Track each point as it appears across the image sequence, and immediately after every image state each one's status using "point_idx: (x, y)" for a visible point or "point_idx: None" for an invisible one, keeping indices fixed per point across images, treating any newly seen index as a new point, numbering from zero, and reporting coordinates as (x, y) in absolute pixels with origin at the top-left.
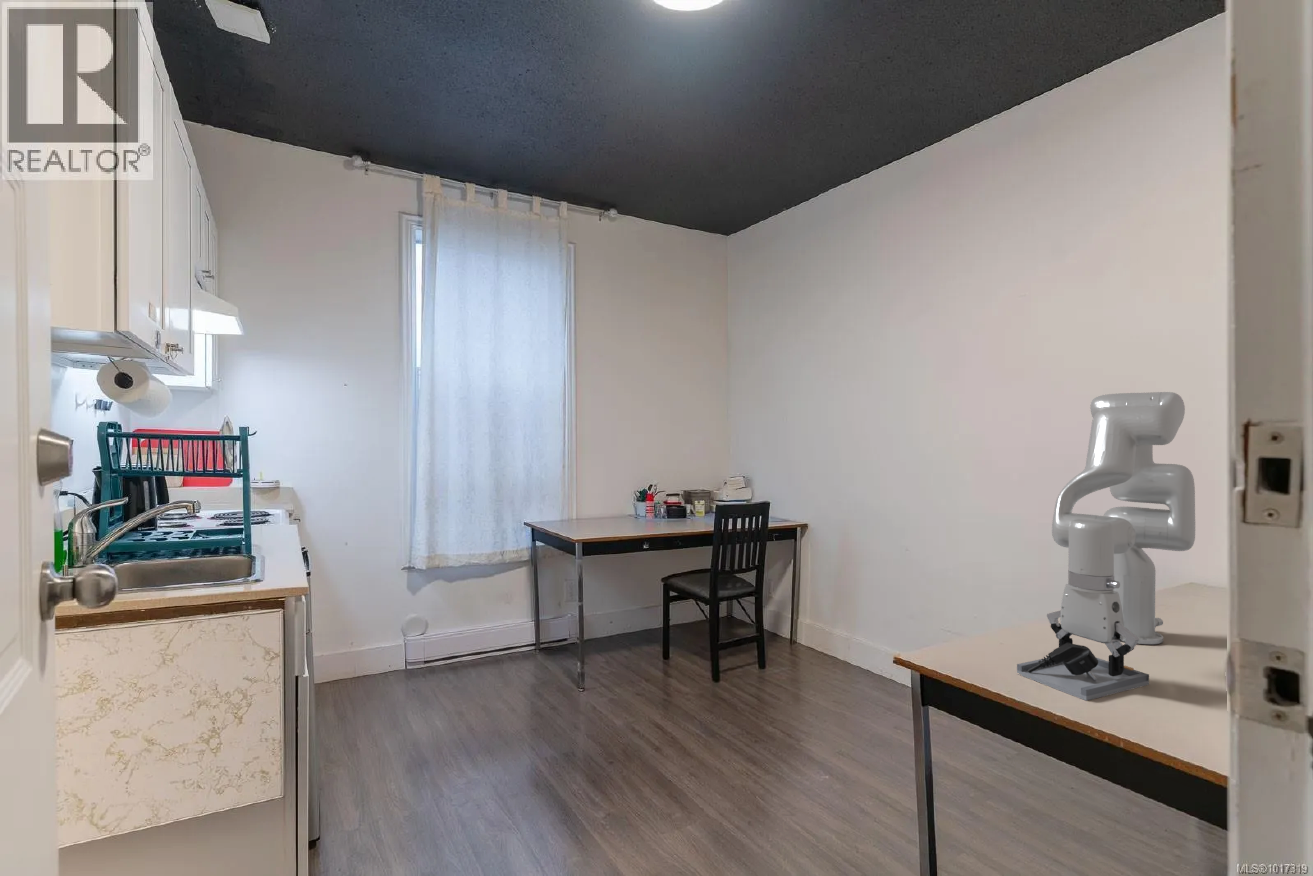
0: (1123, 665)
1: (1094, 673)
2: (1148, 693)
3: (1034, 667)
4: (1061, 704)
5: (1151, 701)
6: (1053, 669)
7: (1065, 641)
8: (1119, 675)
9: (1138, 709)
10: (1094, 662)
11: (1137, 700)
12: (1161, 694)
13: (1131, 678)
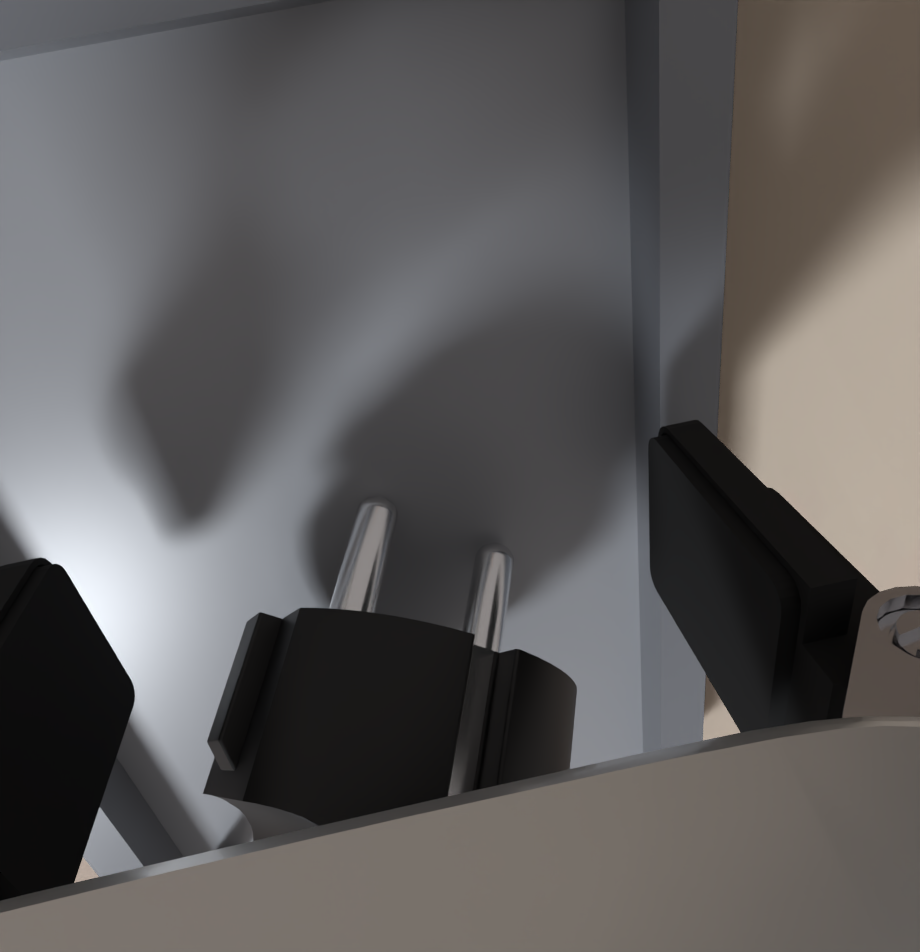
0: (807, 527)
1: (315, 394)
2: (808, 180)
3: None
4: None
5: (903, 341)
6: (161, 680)
7: (30, 891)
8: (429, 126)
9: (902, 559)
10: (571, 731)
11: (829, 438)
12: (896, 45)
13: (719, 289)
